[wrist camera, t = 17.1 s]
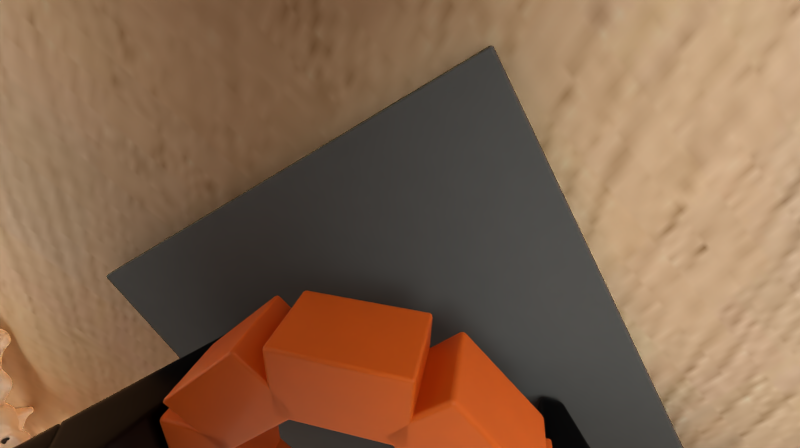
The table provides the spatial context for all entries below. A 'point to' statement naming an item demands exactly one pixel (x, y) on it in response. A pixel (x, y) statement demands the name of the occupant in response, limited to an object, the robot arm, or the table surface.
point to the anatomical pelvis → (10, 407)
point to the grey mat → (421, 255)
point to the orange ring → (347, 382)
